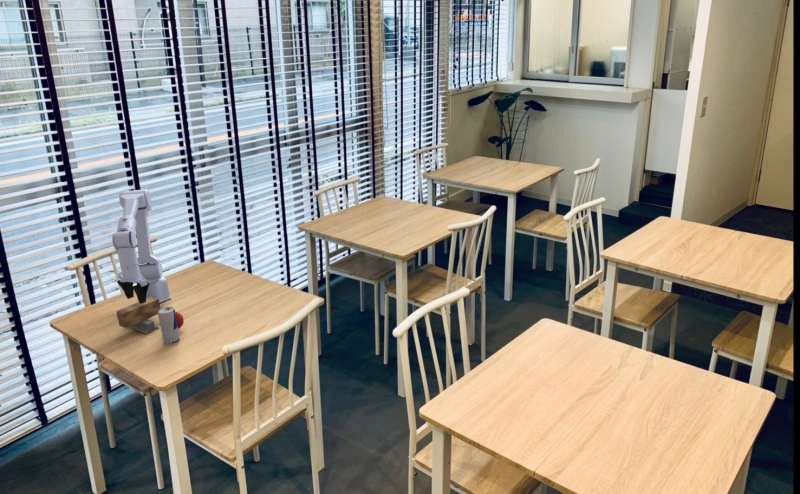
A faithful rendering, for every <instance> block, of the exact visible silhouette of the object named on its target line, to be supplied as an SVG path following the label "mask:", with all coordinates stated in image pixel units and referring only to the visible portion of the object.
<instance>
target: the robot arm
mask: <svg viewBox="0 0 800 494" xmlns="http://www.w3.org/2000/svg"><path fill="white" fill-rule="evenodd" d="M118 196H119V198H118V199H119V204H120V206H121V207H122V209H123V214H122V216H121V217H120V218H119V220H118V224H117V228H116V231H115V232H114V233H112V236H111V237H112V238H111V241H112V245H113V248H114V250H115V254H116V255H117V257H118V261H119V265H120V272H117V277H118V279H119V280H117V281H116V283H117V285H118V286H120V288H121V289H122V292H123V293H124V294H125V297H126V299H128V300H129V299H132V298H134V297H135V294H136V298H137V301H138V302H139V303H140V304H142V303H145V302H146V299H147V298H150V297H155V298H157V299H159V303H160V304H162V303H164V302H166V301H168V300H170V299H172V296H171V295H170V289H169V284H168V281H167V279H166V277H165V276H163V273H164V272H163V265H162V262H161V259H160V258H159V257H157V256H155V255H154V254H153V253H152V244H151V236H150V228H149V222H148V221H149V220H148V213H149V212H150V211H152V206H153V205H152V199H151V193H150V191H149V190H148V189H147V188H144V189H138V190H137V189H135V190H125V191H124V190H122V191H120V192H119V195H118ZM136 245H137V250H136ZM137 251H138V256H137ZM134 283H135V284H136V285H134ZM134 293H135V294H134Z"/></svg>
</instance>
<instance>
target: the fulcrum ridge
mask: <svg viewBox="0 0 800 494" xmlns="http://www.w3.org/2000/svg"><path fill="white" fill-rule="evenodd" d="M129 328H131V329H133V330H136V331H138V332H141V333H143V334H145V335H147V334H150V333H151V332H153V331H156V330H158V329H159V326H158V325H157V324H155V322H154V321H153V320H151V319H150V318H148V319H146V320H144V321H141V322H139V323H137V324H134V325H132V326H130V327H129Z"/></svg>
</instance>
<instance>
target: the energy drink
mask: <svg viewBox="0 0 800 494" xmlns="http://www.w3.org/2000/svg"><path fill="white" fill-rule="evenodd" d="M160 308H161V307H160ZM175 312H176V309H175V308H174V307H172V306H165V307H162V308H161V309H160V310H159V311H158V320H159V325H160V326H159V328H160V331H161V336H162V340H163V344H164V345H165V346H175V345H177V344H178V343H179V342H180V341H181V336H180V331H179V329H178V325H177V320H176V314H175Z"/></svg>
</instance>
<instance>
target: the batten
mask: <svg viewBox="0 0 800 494" xmlns="http://www.w3.org/2000/svg"><path fill="white" fill-rule="evenodd" d="M160 304H161V303H159V299H157V298H155V297H150V298H147V299H146V302H145V303H142V304H140V303H139V301H138V302H136V303H132V304H130V305H128V306H125V307H124V308H123V307H122V308H121V309H118V310H116V316H117V321H118V325H119V326H121V327H123V328H124V329H127V328H131V327H130V326H132V325H134V324H137V323H139V322H141V321H144V320H146V319H151V318H152V317H155V316H157V315H158V311H159V310H160V309H161V305H160Z"/></svg>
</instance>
